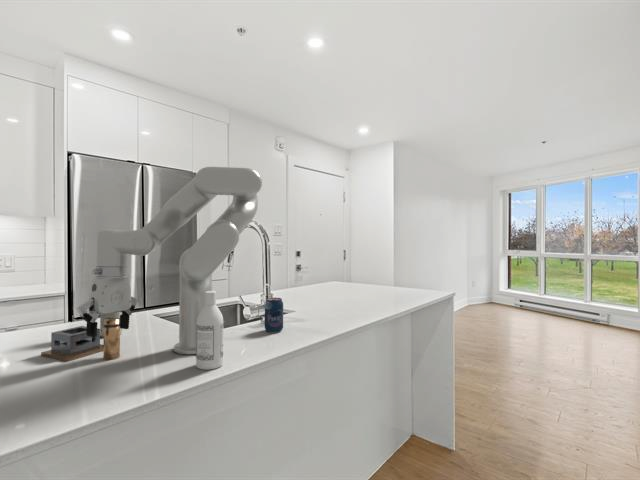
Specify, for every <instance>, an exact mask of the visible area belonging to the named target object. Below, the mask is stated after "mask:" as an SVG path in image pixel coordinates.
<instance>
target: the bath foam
mask: <svg viewBox="0 0 640 480" xmlns="http://www.w3.org/2000/svg"><path fill="white" fill-rule="evenodd" d="M195 363H196V364H195V365H196V367H197V368H198V369H199V370H203V371H204V370H205V371H208V370H215V369H218V368H220V367H221V366H223V364H224V316H223V313H222V312H221V310H220V308H219V307H218V306H217V292H216V291H215V290H212V291H206V292H205V305H204V307H203V308H202V310H201V312H200V313H199V315H198V318H197V324H196V354H195Z"/></svg>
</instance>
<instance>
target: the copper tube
mask: <svg viewBox="0 0 640 480" xmlns="http://www.w3.org/2000/svg"><path fill="white" fill-rule="evenodd" d="M103 345H104V351H102V352H103V356H102V357H103V358H102V359H103V361H111V360H116V359H119V358H120V357H121V355H120V354H121V334H120V318H108V319H105V320H104V337H103Z"/></svg>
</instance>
